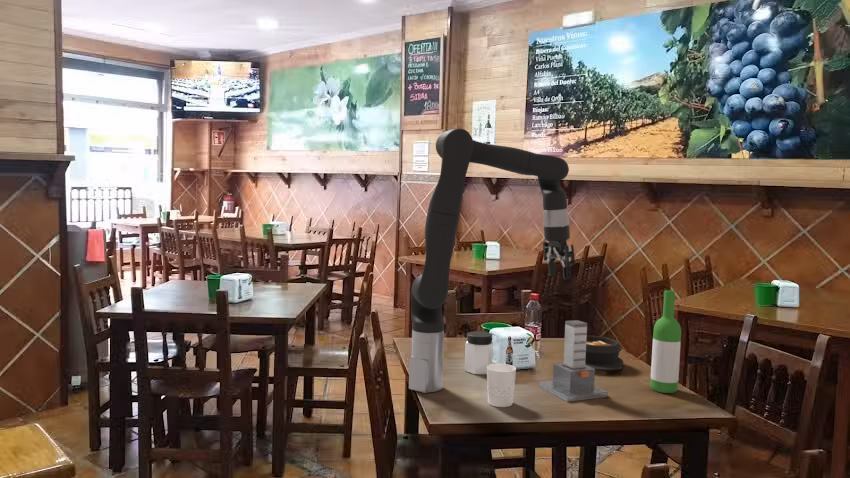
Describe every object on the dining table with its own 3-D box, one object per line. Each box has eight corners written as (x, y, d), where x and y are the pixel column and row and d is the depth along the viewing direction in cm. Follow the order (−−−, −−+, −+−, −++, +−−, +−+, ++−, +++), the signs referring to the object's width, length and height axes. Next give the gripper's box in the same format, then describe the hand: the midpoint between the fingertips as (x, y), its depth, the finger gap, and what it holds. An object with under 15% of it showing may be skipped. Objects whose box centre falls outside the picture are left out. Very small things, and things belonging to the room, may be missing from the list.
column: (585, 388, 184) (588, 323, 182) (571, 389, 182) (574, 324, 180) (574, 383, 188) (578, 320, 187) (561, 384, 186) (564, 320, 185)
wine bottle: (679, 389, 190) (685, 290, 188) (675, 396, 184) (681, 293, 181) (652, 384, 194) (658, 287, 192) (647, 391, 188) (653, 290, 185)
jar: (486, 376, 198) (487, 338, 197) (461, 372, 201) (462, 335, 200) (494, 369, 206) (496, 332, 205) (470, 365, 209) (472, 329, 208)
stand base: (607, 396, 181) (609, 371, 181) (567, 401, 176) (568, 375, 175) (578, 382, 194) (579, 358, 194) (539, 386, 189) (540, 362, 188)
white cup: (495, 396, 179) (497, 361, 178) (520, 403, 174) (521, 367, 173) (480, 403, 173) (481, 367, 172) (504, 410, 168) (506, 373, 167)
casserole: (635, 376, 203) (636, 350, 202) (578, 375, 202) (579, 349, 201) (608, 355, 228) (610, 332, 227) (557, 354, 227) (558, 331, 226)
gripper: (533, 224, 196) (537, 275, 198) (557, 227, 183) (561, 282, 185) (555, 221, 199) (558, 272, 200) (580, 224, 185) (583, 278, 187)
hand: (559, 277), depth 193 cm, fingers open, 8 cm apart
